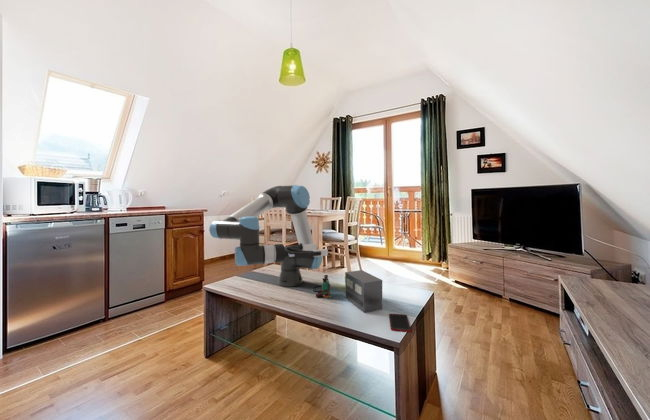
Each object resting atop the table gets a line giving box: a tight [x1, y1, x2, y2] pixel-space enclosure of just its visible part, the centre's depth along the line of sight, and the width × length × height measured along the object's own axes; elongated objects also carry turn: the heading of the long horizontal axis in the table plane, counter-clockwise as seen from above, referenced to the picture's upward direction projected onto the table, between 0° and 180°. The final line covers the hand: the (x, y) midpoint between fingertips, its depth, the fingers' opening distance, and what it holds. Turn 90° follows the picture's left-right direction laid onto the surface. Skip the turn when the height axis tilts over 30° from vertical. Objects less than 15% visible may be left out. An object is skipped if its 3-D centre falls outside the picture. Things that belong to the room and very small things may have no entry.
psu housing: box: [344, 269, 383, 314], centre depth 130 cm, size 19×10×14 cm, turn 23°
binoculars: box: [312, 274, 331, 299], centre depth 142 cm, size 9×11×10 cm
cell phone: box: [388, 313, 412, 333], centre depth 110 cm, size 8×15×1 cm, turn 169°
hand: (321, 249), depth 117 cm, fingers open, 13 cm apart
